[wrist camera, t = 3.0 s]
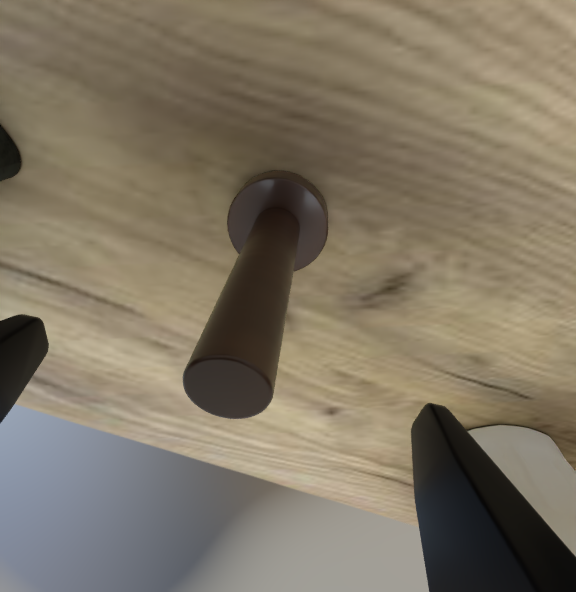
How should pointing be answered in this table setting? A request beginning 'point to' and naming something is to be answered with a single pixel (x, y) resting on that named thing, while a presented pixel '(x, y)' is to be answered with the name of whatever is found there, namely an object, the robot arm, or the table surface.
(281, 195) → the brown peg stand
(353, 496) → the table surface
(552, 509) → the cup
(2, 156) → the candle
